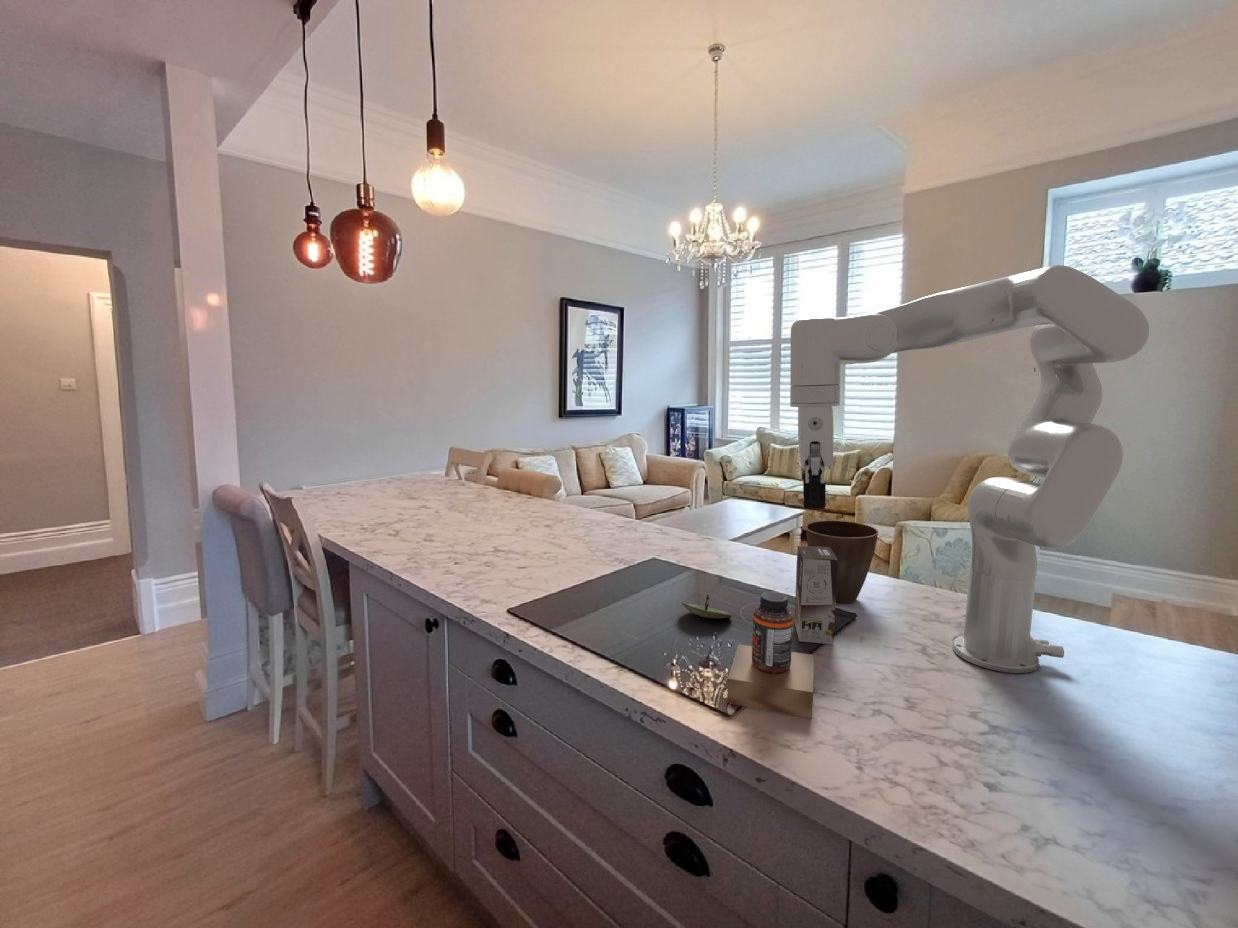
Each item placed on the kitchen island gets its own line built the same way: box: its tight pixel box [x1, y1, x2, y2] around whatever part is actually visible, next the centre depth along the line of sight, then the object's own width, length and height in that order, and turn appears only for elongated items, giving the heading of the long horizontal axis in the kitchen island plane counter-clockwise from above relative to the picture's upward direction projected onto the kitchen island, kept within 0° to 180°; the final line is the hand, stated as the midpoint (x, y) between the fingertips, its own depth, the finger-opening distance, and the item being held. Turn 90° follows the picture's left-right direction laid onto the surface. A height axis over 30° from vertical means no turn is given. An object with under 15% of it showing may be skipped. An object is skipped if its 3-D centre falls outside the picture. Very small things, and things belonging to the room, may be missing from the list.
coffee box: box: [794, 545, 838, 645], centre depth 109 cm, size 9×6×16 cm
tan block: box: [726, 644, 814, 719], centre depth 89 cm, size 12×12×4 cm
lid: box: [681, 593, 733, 619], centre depth 116 cm, size 11×10×5 cm
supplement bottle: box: [751, 591, 794, 673], centre depth 88 cm, size 6×6×11 cm
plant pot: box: [805, 520, 879, 605], centre depth 127 cm, size 15×15×16 cm
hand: (813, 501), depth 94 cm, fingers open, 9 cm apart
